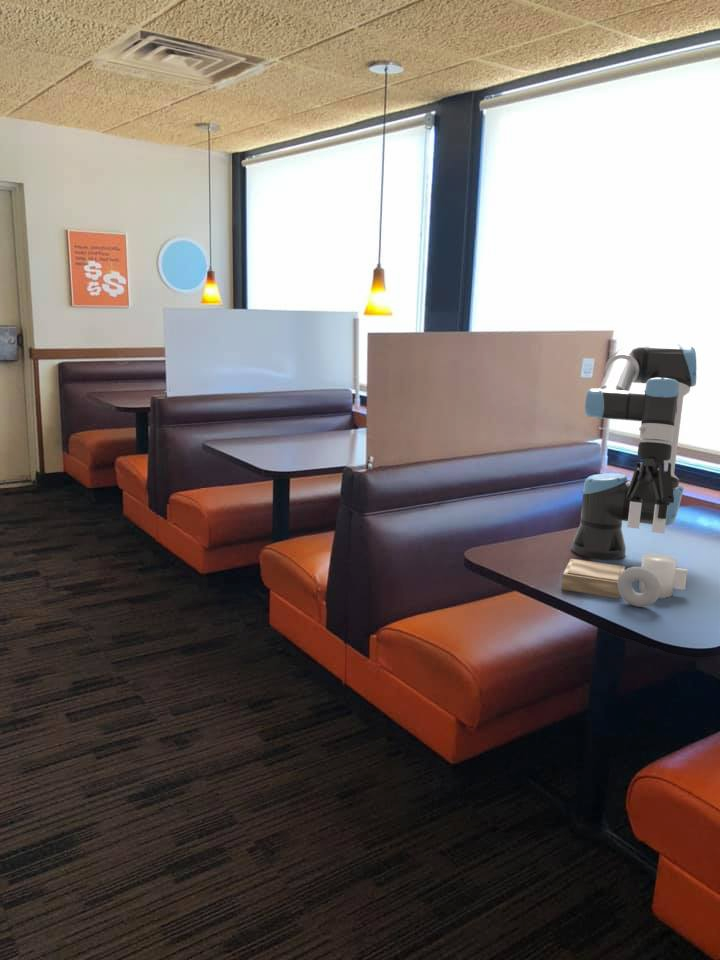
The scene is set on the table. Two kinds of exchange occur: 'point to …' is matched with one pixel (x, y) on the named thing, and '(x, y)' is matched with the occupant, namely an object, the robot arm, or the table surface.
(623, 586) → the donut
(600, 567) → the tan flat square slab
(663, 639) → the table surface
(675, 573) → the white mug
